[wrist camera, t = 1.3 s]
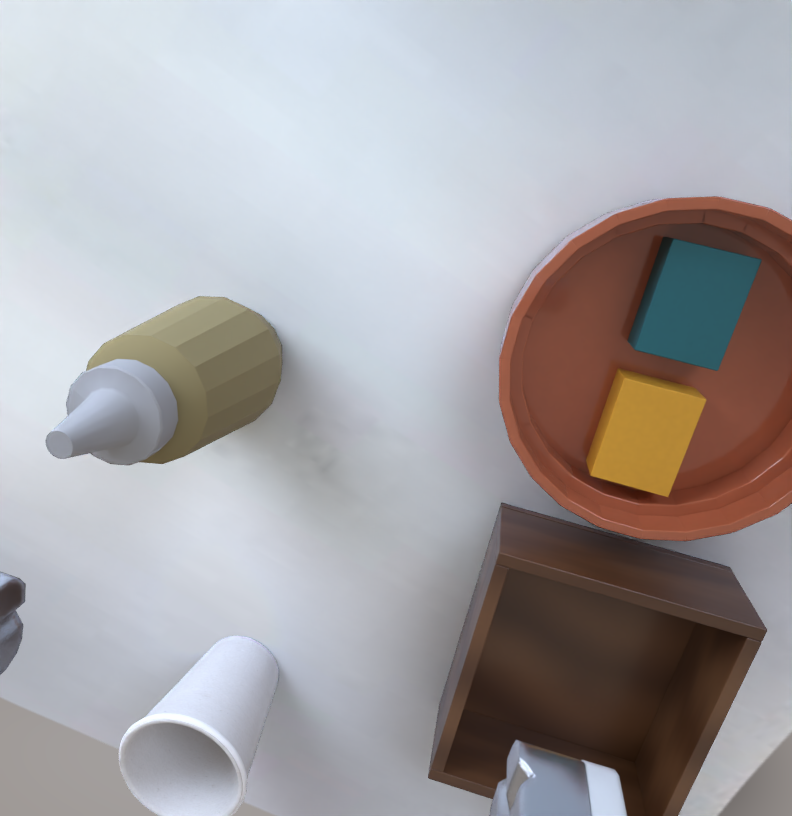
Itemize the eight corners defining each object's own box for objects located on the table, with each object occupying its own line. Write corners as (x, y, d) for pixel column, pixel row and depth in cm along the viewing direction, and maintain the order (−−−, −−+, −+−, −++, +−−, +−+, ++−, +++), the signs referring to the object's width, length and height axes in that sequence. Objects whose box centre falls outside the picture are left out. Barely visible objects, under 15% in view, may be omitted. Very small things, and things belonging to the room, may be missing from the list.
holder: (501, 502, 43) (499, 552, 37) (730, 566, 41) (768, 630, 35) (439, 704, 48) (427, 778, 42) (640, 767, 47) (659, 853, 40)
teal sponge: (663, 236, 36) (673, 238, 34) (746, 256, 36) (762, 259, 34) (626, 341, 38) (634, 350, 36) (705, 361, 38) (718, 371, 35)
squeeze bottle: (324, 373, 42) (196, 482, 25) (229, 432, 45) (52, 569, 28) (252, 263, 41) (66, 301, 24) (157, 330, 44) (-72, 408, 27)
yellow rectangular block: (617, 367, 39) (624, 377, 36) (695, 387, 38) (707, 399, 36) (585, 460, 41) (590, 475, 38) (659, 480, 40) (668, 497, 38)
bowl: (551, 164, 37) (556, 158, 32) (892, 243, 35) (944, 248, 31) (467, 461, 42) (462, 489, 38) (756, 541, 41) (784, 580, 36)
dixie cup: (316, 663, 49) (269, 772, 39) (262, 733, 52) (206, 850, 42) (222, 599, 49) (151, 693, 39) (172, 673, 51) (95, 777, 42)
